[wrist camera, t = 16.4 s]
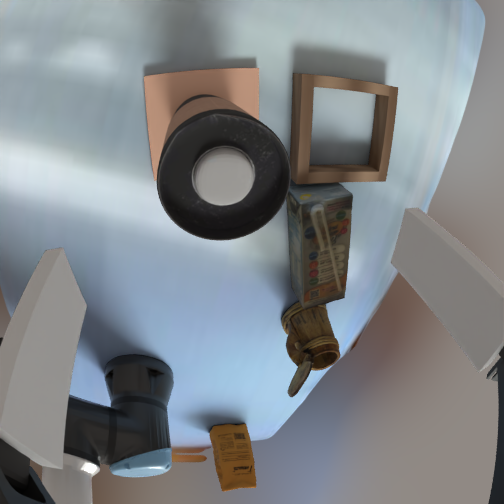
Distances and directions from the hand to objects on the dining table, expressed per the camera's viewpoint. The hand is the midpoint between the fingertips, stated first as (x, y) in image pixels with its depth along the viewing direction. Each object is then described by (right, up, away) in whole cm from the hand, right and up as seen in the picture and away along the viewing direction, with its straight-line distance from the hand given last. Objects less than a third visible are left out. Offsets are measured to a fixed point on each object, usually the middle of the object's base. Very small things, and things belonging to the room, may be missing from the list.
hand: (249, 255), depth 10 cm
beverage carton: (+9, +3, +36) cm, 37 cm away
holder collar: (+12, +17, +26) cm, 33 cm away
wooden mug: (+8, -11, +45) cm, 47 cm away
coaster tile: (-6, +16, +22) cm, 28 cm away
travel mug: (-6, +15, +21) cm, 27 cm away
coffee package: (-8, -56, +72) cm, 91 cm away
